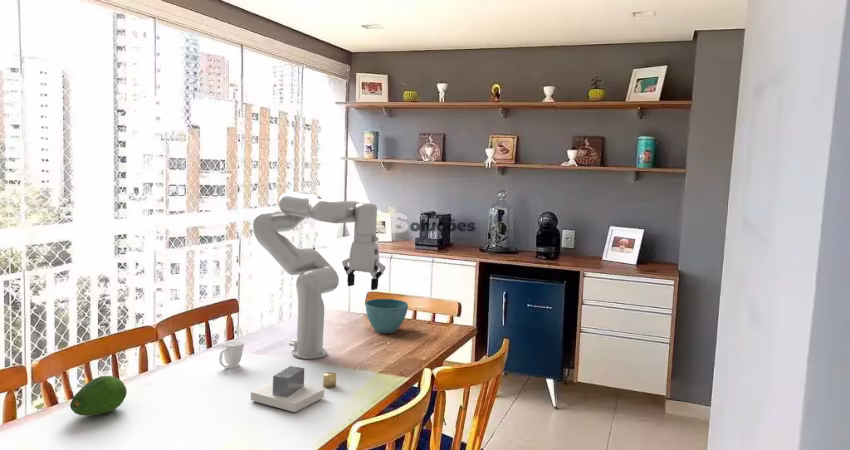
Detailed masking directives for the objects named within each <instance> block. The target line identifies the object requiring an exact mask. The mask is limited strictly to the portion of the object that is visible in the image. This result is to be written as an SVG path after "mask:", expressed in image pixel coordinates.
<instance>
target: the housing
mask: <svg viewBox="0 0 850 450" xmlns="http://www.w3.org/2000/svg"><path fill="white" fill-rule="evenodd" d="M272 383H273V395H277V396H282V397H289V396H290V395H292V394H293V393H295V392H296V391H298V390H299V389H301V388H302V387H304V384H305V367H299V366H294V365H293V366H292V365H289V366H288V367H286V368H284V369H283V370H281V371H279V372H277V373H276V374H274V375H273V376H272Z"/></svg>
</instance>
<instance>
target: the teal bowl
mask: <svg viewBox="0 0 850 450" xmlns="http://www.w3.org/2000/svg"><path fill="white" fill-rule="evenodd" d="M408 309H409V303H407V302H406V301H404V300H399V299H394V298H375V299H370V300H369V299H368V300H367V301H366V302H365V310H366V316H367V319H368V322H369V323H370V324H371V327H372V328H373V329H374V331H375V332H377V333H379V334H385V333H388V334H393V333H396V332H397V330H398V329H400V327H401V326H402V324H403V322H404V320H405V318H406V315H407V313H408Z"/></svg>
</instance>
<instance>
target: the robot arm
mask: <svg viewBox="0 0 850 450" xmlns="http://www.w3.org/2000/svg"><path fill="white" fill-rule="evenodd" d="M277 204H278V208H279V209H269V210H264V211H260V212H259V213H257V214H256V216H255V217H254V219H253V222H252V229H253V233H254V237H255V239H256V240H257V242H258V243H259V245H261V247H263V248H264V249H265V250H266V251H267V252H268V253H269V254H270V255H271V256H272V258H273V259H275V261H276V262H277V263H278V265H280V266H281V268H282V269H283V270H284V271H285V272H286V273H287V274H289V275H291V276H298V277H297V278H296V283H295V287H296V293H297V325H296V326H297V328H296V329H297V330H296V331H297V332H296V339H293V338H292V339H290V341H289V343H288V345H289V346H290V347H293V350H292V353H291V355H292V356H293V357H295V358H297V359H302V360H305V359H306V360H316V359H322V358H324V357H326V355H327V353H328V351H327V349H325V348H324V347H323V346H324V329H325V328H324V326H325V325H324V323H325V304H324V301H323V298H322V295H324V294H326V293H330V292H333V291H335V290H336V289H337V287H338V286H339V284H340V283H339V281H340V278H339V275H338V273H337V271H336V270H335V268H334V267H333V266H332V265H331V264H330V263H329V262H328V261H327V260H326V258H324V257H323V255H321V254H320V253H319V252H318V251H317V250H315V249H314V248H310V247H309V248H308V247H307V248H298V247H296V246H295V245H294V244H293V243H292V242H291V241H290V240H289V239H288V238H287V237H286V236H284V235H283V234H281V232H289V231H292V230H294V229H295V228H296V227H297V226H298V225H299V224H300V223H301V222H303V221H304V220H305V219H306V218H307V219H308V218H309V219H313V220H315V221H319V222H324V223H330V224H348V223H354V227H353V229H354V230H353V231H354V232H353V241H352V242H351V246H350V251H349V257H348V258H346V259H344V260H342V261H341V262H342V263H341V264H342V267H343V270H344V271H345V273H346V275H347V280H346V281H347V287H352V286H355V278H356V277H355V272H362V273H370V276H372V278H371V283H370V290H371V291H375V290H378V287H379V278H381V276H382V275H384V272H385V270H386V268H387V267H386V265H384V264H383V263H381V262H380V254H379V253H380V252H379V244H378V243H376V242H378V241H379V237H378V236H377V221H378V220H377V218H378V207H377V205H376V204H374V203H366V202H365V203H364V202H358V201H356V200H355V201H354V200H353V201H352V200H346V201H345V200H344V201H336V200H335V201H333V200H325V199H323V198H322V197H321V196H320V195H317V194H310V193H309V192H307V191H306V192H305V191H287V192H285V193H283V194H282V195H280V197H279V200H278V203H277Z"/></svg>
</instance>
